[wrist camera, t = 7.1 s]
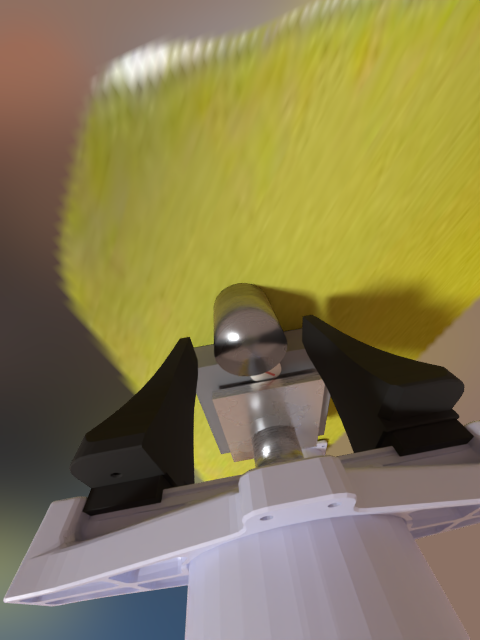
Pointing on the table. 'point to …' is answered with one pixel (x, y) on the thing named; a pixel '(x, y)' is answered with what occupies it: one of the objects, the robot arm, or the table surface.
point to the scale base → (250, 380)
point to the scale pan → (270, 410)
